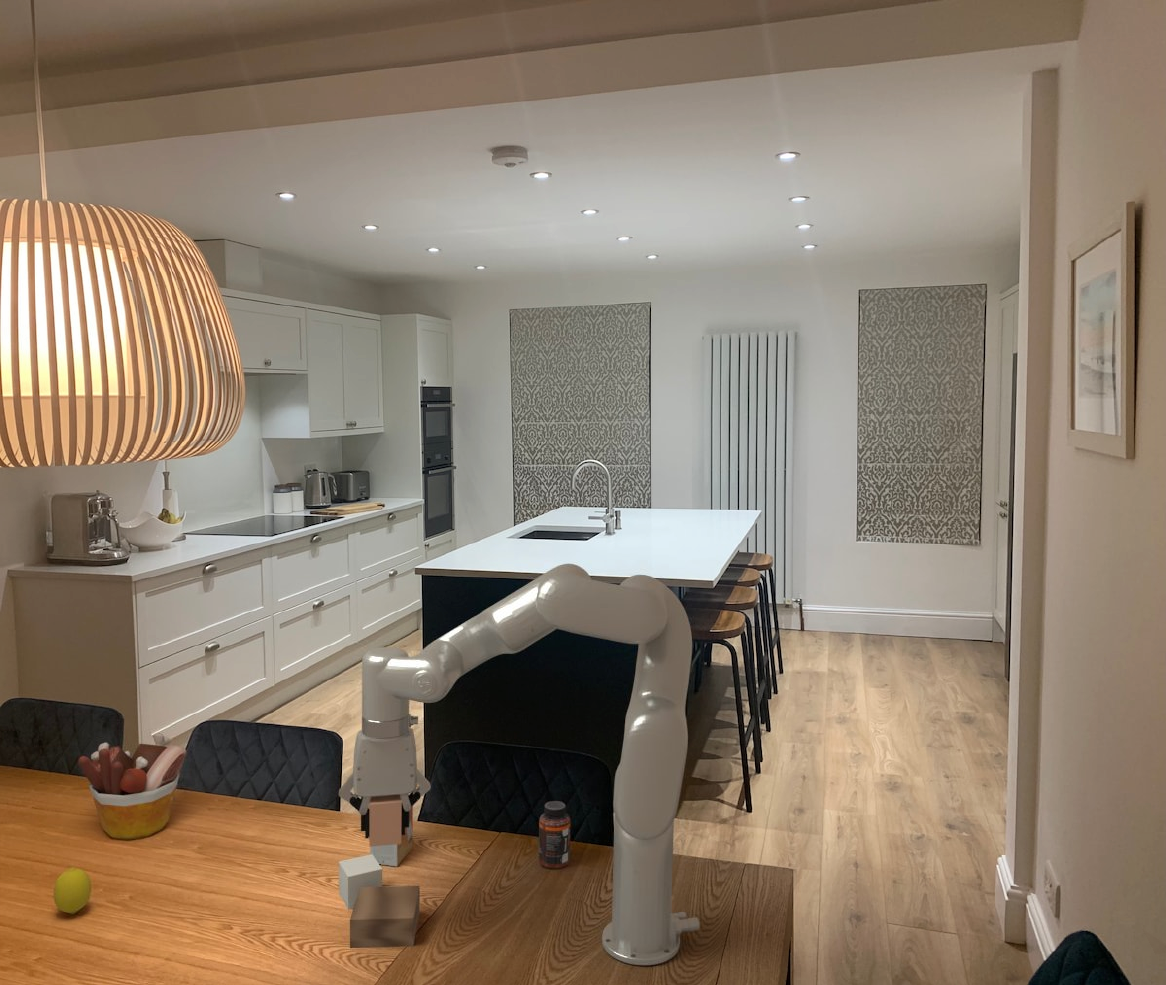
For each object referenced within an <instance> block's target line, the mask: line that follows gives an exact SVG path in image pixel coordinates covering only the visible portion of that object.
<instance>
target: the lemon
mask: <svg viewBox="0 0 1166 985" xmlns="http://www.w3.org/2000/svg"><path fill="white" fill-rule="evenodd" d="M91 893H92V883H91V879H90V877H89V875H88V873H87V872H86V871H85V870H83V869H81V868H76V867H69V869H67V870H65V871H63V872H62V873H61V874H60V875H59V876H58V878H57V879H56V881H55V883H54V887H53V902H54V904H55V906H56V907H57V908H58V910H60V911H61V912H64V913H69V914H70V915H74V914H76V913H77V912H78V911H80V910H81V909H83V908H84V907H85V906H86V904H87V903H88V902H89V901H90V898H91Z"/></svg>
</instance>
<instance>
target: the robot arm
mask: <svg viewBox="0 0 1166 985" xmlns="http://www.w3.org/2000/svg"><path fill="white" fill-rule="evenodd" d="M686 612H687V611H686V609H685V607H684V606H683V604H682V602H681V601H680V599H679V598H678V597H677V595H676V594H675V593H674V592H673V591H672V590H671V589H670V588H669V587H668V586H667V585H665V583H663V582H661V581H660V580H659V579H657V578H655V577H653V576H650V575H645V574H635V575H631V576H630V577H627V578H626V579H624V580H622V582H621V583H620V584H614V583H609V582H605V581H600V580H595V579H592V578H591V576H590V574H589V573H588V572H587V570H586V569H584V568H583V567H582V566H580V565H577V564H574V563H564V564H560V565H557V566H555V567H553V568H551V569H550V570H548V571H545V573H543V574H542V575H539V576H538V577H536V578H534V579H533V580H532V581H530V582H528V583H527V584H525V585H524V586H522V587H521V588H518V589H517V590H515V591H514V592H511V594H509V595H507V596H506V597H504V598H503V599H501V600H499V601H498V602H496V603H494V604H493V605H491V606H489V607H487V608H486V609H484V610H482V611H481V612H480V613H479V614H477V615H475V616H473V617H471V618H470V619H468V620H466V621H465V622H463V623H462V624H460V625H458V626H457V627H455V628H453V629H451V630H450V631H448V632H446V633H445V634H443V635H442V636H440V637H438V638H437V639H436V640H433V641H432V642H431V643H429V644H428V645H426V647H424V648H423V649H422V650H421V651H420V653H418V654H416V655H414V656H409V654H408V652H407V651H406V650H404V649H402V648H399V647H393V646H383V647H376V648H372V649H369V650H368V651H366V652H365V653H364V654H363V655H362V656H363V657H362V661H361V730H359V731H358V732H357V733H356V738H355V742H354V751H353V765H352V773H351V775H350V776H349V778H347V780H345V782H344V784H343V785H342V786H341V787H340V788H339V790H338V796H339V798H341V799H342V800H344V801H345V802H347V803H349V804H350V805H351V806H352V807H353V809H355V810H356V811H358V813H359V815H360V832H364V834H365V839H369V836H370V814H369V803H370V800H371V797H377V796H390V795H400V798H401V801H402V816H401V834H402V835H405V828H406V827H409V811H410V810H411V807H412V806H414V805H415V804H416V803H417V802H418V801H419V800H420V799H421V798H422V796H424V795H425V794H427V793H428V792H429V791H430V790H431V789H432V788H431V782H430V781H429V780H428V779H427V778H426V777H425V776H424V775H423V774H422V773H421V771H420V770H419V769H418V763H417V762H418V760H417V747H416V746H417V745H416V739H415V733H414V732H415V731H414V730H413V728H412V727H413V726H414V725H419V716H418V715H412V714H411V713H410V701H413V702H417V703H423V704H424V703H425V704H431V703H437V702H438V701H439V702H440V700H442V699H444V698H445V697H446V696H447V695H448V693H449V692H450V690H451V689H452V688H453V686H454V685H455V683H456V682H457V680H458V679H459V678H461V677H462V676H464V675H465V674H466V673H468V672H470V671H472V670H473V669H475V668H477V667H479V665H481V664H483V663H485V662H487V661H488V660H490V659H493V658H494V657H497V656H499V655H503V654H504V655H505V654H510V655H511V654H512V655H513V654H517V653H519V652H521V651H523V650H525V649H526V648H528V647H529V646H531V645H533V644H534V643H536V642H537V641H539V640H541V639H542V638H544V637H545V636H547V635H550V633H552V632H554V631H555V630H561V631H565V632H569V633H572V634H577V635H581V636H587V637H588V636H589V637H590V638H591V637H592V638H597V639H602V640H608V641H613V642H617V643H622V644H629V645H638V648H637V649H638V650H637V657H636V662H635V664H636V665H635V674H634V681H633V685H632V686H633V687H632V692H631V697H630V701H629V705H628V708H627V710H626V711H627V712H626V714H625V720H624V721H625V723H624V732H623V733H624V734H623V742H622V750H621V755H620V756H621V757H620V762H619V764H618V766H617V769H616V770H615V776H614V784H613V785H614V787H613V802H612V804H613V813H614V820H613V822H614V826H613V828H614V829H613V830H614V831H613V860H612V861H613V864H612V901H611V904H612V905H611V906H612V907H611V910H612V911H611V912H612V913H611V922H609V923H607V925H605V927H604V929H603V931H602V935H601V942H602V946H603V949H604V950H605V951H606V952H607V953H608V954H609V955H610V956H611V957H613V958H614V959H616V960H619V961H620V962H622V963H626V964H629V965H636V966H653V965H659V964H662V963H665V962H667V961H669V960H671V959H672V958H673V957H674V956H676V954H678V953H679V949H680V947H681V938H680V935H682V933H683V932H692V931H693V932H694V931H700V921H699V918H698V917H697V916H695V917H688V918H687V913H686V912H685V911H680V912H675V913H673V912H672V890H673V886H672V885H673V857H674V856H673V854H674V825H675V824H674V822H675V819H676V816H677V812H678V807H679V803H680V796H681V792H682V785H683V778H684V772H685V767H686V766H685V765H686V760H687V755H688V746H689V745H688V743H689V742H688V740H689V734H688V732H689V731H688V724H687V723H688V722H687V717H686V704H687V702H686V701H687V694H688V689H689V688H688V687H689V680H690V674H691V665H692V664H691V663H692V656H693V655H692V654H693V639H692V638H693V637H692V629H691V625H690V621H689V616H688V614H687V613H686ZM417 785H419V786H417ZM352 789H353V792H352V791H351V790H352Z"/></svg>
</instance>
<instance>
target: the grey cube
mask: <svg viewBox="0 0 1166 985" xmlns="http://www.w3.org/2000/svg"><path fill="white" fill-rule="evenodd" d="M381 866H382V865H379V863H378V862H377V860H376V859H375V857H374V856H373V854H370V853H369V854H367V855H361V856H357V857H353V858H349V859H345V860H340V861H338V894H339V896H340V897H342V898H341V899H342V902H343V901H344V902H343V904H344V903H345V904H344V906H345V905H346V906H345V907H346V910H347V911H349V909H350V910H353V908H354V905H355V902H356V898H357V895H358V892H359V889H360V887H383V868H382V867H381Z"/></svg>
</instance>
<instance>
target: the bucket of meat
mask: <svg viewBox="0 0 1166 985" xmlns="http://www.w3.org/2000/svg"><path fill="white" fill-rule="evenodd" d="M152 739H153V742H154V744H147V743H139V744H138V746H137V748H136V749H135V752H134V753H133V756H132V757H131V752H130V751H129V750H127V751H124V750H123V749H122V748H121V746H119V745H116V746H115V745H114V746H110V744H109V743H108V742H106V741H105V742H103V743H101V744H99V746H98V749H97V750H96V751H95V752H93V753H92V754H90V757H88V756H85V755H82V756H80V757H79V758H78V761H77V765H78V766H79V768H80V769H81V771H82V772H83V774H84V775H85V777H86V779H87V780H88V781H89V783H90V784H89V785H88V786H89V789H90V791H91V794H92V797H93V798H92V799H93V800H94V801H93V802H94V804H95V808H96V811H97V814H98V818H99V821H100V825H101V828H102V830H104V832H106V834H107V835H108V836H109V837H110V838H112V839H114V840H124V841H132V840H137V839H143V838H147V837H150V836H152V835H154V834H157V833H158V832H160V831H162V830H163V828H164V827H165V826H166V825H167V823H168V822H169V819H170V818H171V814H172V809H173V805H174V801H175V795H176V790H177V786H178V781H179V778H180V771H181V768H182V766H183V763H184V761H185V758H186V756H187V755H186V754H187V749H186V748H184V747H183V748H182V746H181V747H180V746H178V745H175V744H170V743H171V738H170V737H167V736H164V735H163V733H162V732H161V733H160V732H157V733H154V734H153V735H152ZM169 744H170V745H169ZM167 745H169V746H167Z"/></svg>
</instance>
